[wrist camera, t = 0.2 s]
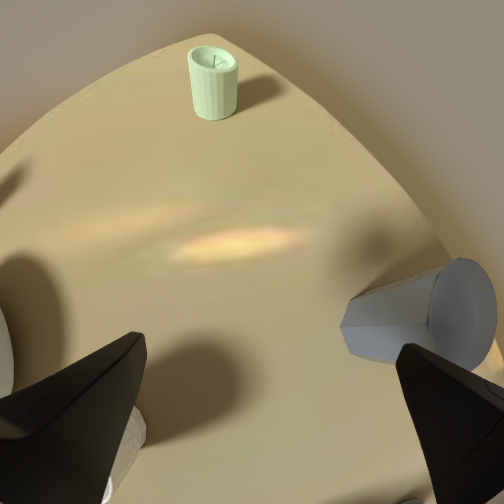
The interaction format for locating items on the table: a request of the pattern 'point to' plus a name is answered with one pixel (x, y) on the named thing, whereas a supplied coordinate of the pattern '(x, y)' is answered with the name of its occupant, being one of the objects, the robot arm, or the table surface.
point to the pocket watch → (412, 502)
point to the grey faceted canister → (426, 316)
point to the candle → (213, 81)
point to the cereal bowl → (5, 359)
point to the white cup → (126, 452)
